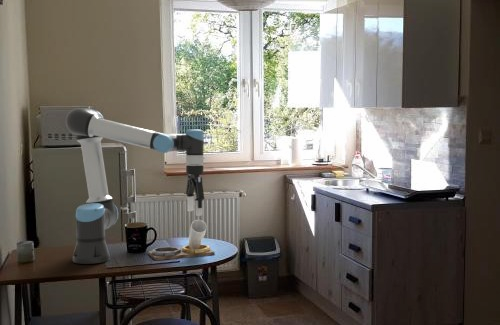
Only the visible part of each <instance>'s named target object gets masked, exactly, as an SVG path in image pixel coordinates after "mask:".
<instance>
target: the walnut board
mask: <svg viewBox="0 0 500 325" xmlns="http://www.w3.org/2000/svg"><path fill="white" fill-rule="evenodd" d="M180 249H181V253H180V254H177V255H172V256H156V255H154V254H153V253H152V250H148V255H149V256H150V257H151V258H152V259H153V260H154V261H160V260H161V261H162V260H163V261H164V260H171V259H172V260H174V259H175V260H176V259H183V258H184V259H185V258H194V257H195V258H196V257H206V256H215V251H213V250H212V249H211V248H210V251H207V252H205V253H185V252H183V251H182V247H181V248H180ZM198 249H204V248H198ZM159 252H172V251H169V250H168V251H159Z"/></svg>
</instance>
